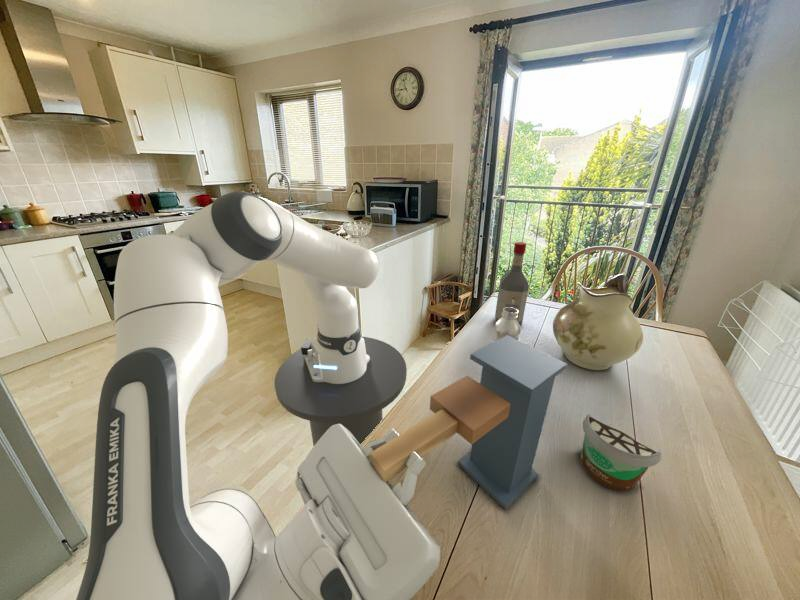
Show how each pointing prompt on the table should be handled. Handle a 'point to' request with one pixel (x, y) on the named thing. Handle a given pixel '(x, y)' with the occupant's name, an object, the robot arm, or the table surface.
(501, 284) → the liquor
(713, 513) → the table surface
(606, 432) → the food container
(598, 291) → the pitcher
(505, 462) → the pedestal stand
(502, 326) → the plastic bottle
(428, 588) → the table surface
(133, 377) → the robot arm
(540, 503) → the table surface
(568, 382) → the table surface
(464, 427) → the mallet
